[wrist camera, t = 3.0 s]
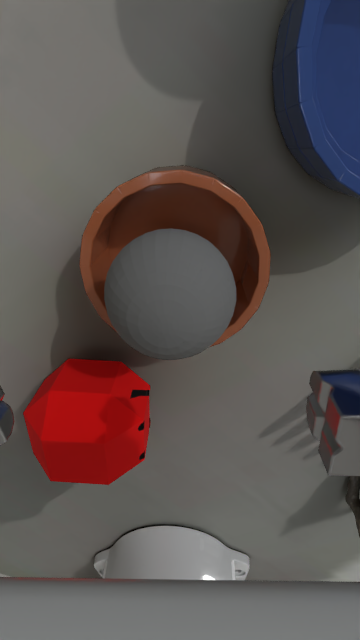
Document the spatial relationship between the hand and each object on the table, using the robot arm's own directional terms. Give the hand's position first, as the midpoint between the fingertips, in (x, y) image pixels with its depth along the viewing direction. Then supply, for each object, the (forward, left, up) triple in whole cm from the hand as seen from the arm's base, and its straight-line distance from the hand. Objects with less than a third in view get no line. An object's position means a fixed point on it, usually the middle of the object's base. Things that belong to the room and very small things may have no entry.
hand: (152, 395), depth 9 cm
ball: (-11, +7, -15) cm, 20 cm away
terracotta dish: (0, 0, -15) cm, 15 cm away
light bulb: (0, 0, -14) cm, 14 cm away
